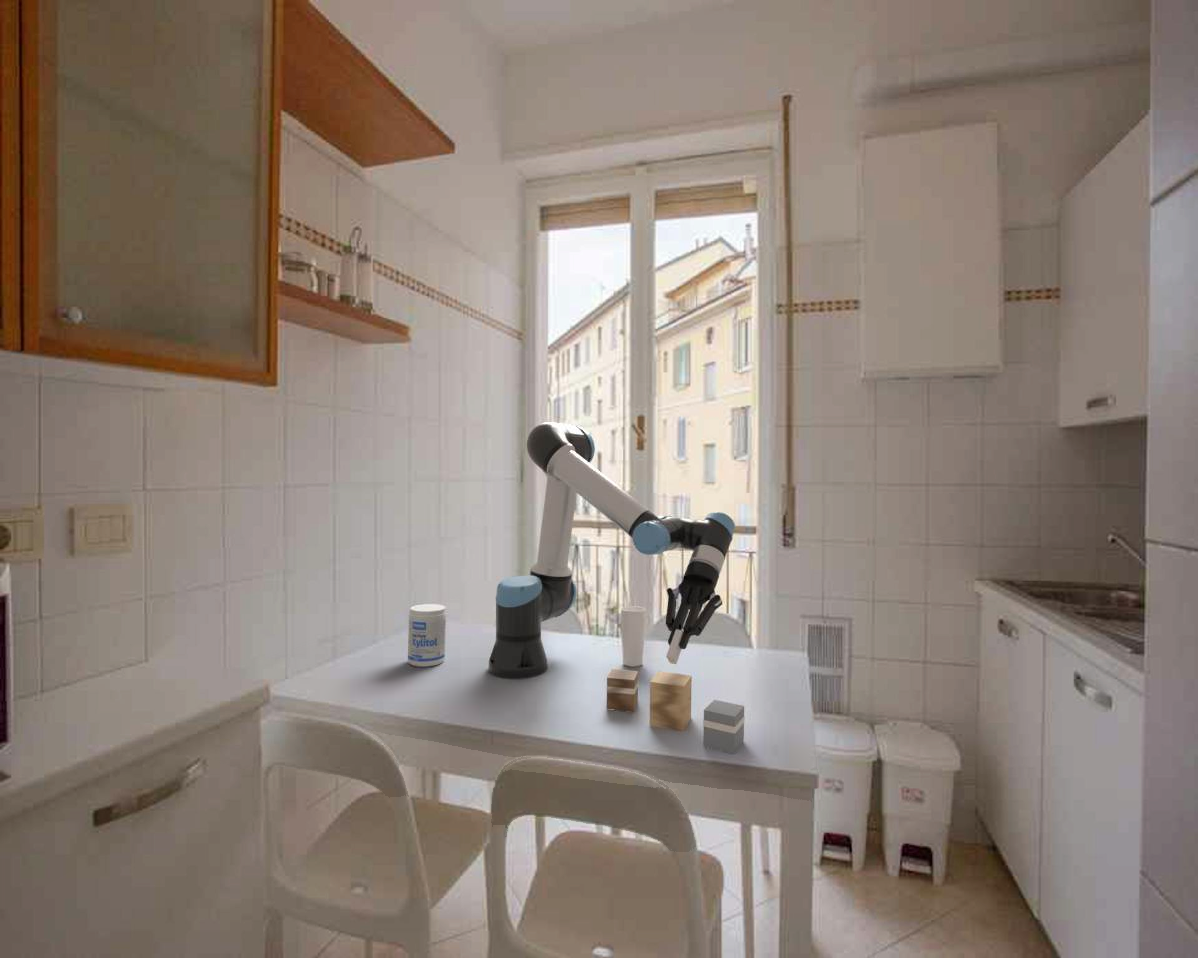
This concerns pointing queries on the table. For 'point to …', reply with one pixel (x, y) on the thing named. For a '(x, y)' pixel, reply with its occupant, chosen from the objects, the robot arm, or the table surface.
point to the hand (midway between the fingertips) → (671, 660)
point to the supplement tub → (426, 635)
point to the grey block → (723, 726)
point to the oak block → (670, 700)
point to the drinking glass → (633, 634)
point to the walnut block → (622, 690)
